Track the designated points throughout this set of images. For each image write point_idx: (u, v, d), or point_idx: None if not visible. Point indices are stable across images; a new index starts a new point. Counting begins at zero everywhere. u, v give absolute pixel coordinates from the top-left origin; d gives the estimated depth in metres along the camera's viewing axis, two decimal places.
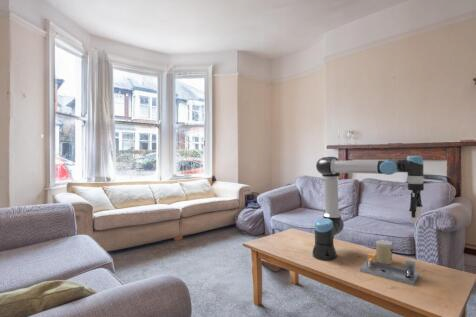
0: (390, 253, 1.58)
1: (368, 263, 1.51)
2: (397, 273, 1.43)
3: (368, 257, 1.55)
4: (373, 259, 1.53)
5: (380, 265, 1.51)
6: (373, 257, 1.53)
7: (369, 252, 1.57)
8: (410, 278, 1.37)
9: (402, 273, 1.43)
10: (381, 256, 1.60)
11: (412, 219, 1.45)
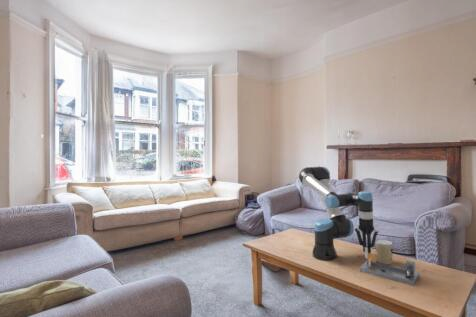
0: (390, 253, 1.58)
1: (369, 263, 1.51)
2: (397, 273, 1.43)
3: (368, 257, 1.55)
4: (373, 259, 1.53)
5: (380, 265, 1.51)
6: (373, 257, 1.53)
7: None
8: (410, 278, 1.37)
9: (402, 273, 1.43)
10: (381, 256, 1.60)
11: None
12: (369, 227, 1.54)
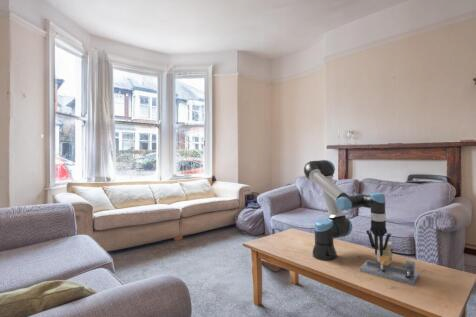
0: (390, 253, 1.58)
1: (381, 266, 1.47)
2: (397, 273, 1.43)
3: (380, 260, 1.50)
4: (386, 262, 1.48)
5: (380, 265, 1.51)
6: (386, 260, 1.48)
7: None
8: (410, 278, 1.37)
9: (402, 273, 1.43)
10: None
11: None
12: (381, 229, 1.50)
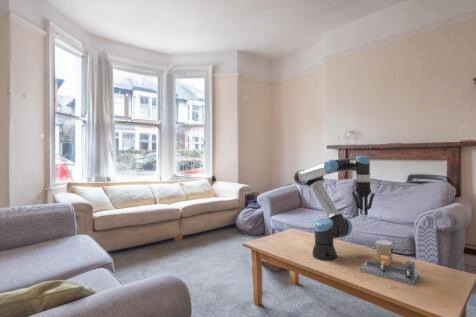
0: (390, 253, 1.58)
1: (381, 266, 1.46)
2: (397, 273, 1.43)
3: (381, 260, 1.50)
4: (386, 262, 1.48)
5: (380, 265, 1.51)
6: (386, 260, 1.48)
7: (381, 255, 1.53)
8: (410, 278, 1.37)
9: (402, 273, 1.43)
10: None
11: None
12: (366, 190, 1.58)
